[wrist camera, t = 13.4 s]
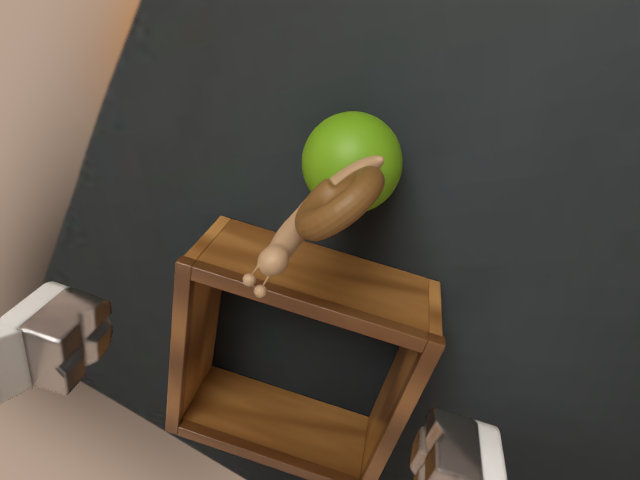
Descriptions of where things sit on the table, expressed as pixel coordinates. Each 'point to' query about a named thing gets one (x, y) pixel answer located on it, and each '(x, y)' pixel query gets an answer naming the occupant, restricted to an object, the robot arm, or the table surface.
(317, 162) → the snail figurine
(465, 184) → the table surface
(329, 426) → the open wooden box
